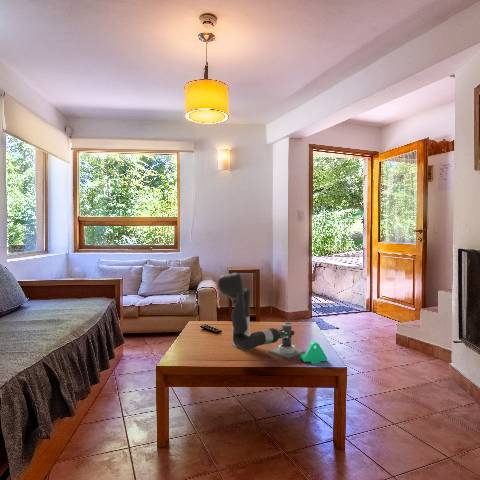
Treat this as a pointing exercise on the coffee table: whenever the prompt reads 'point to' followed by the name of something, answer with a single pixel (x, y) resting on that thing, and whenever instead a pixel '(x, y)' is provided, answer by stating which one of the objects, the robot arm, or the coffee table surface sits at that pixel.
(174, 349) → the coffee table surface
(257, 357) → the coffee table surface
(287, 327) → the lens
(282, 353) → the mount plate
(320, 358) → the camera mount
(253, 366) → the coffee table surface
